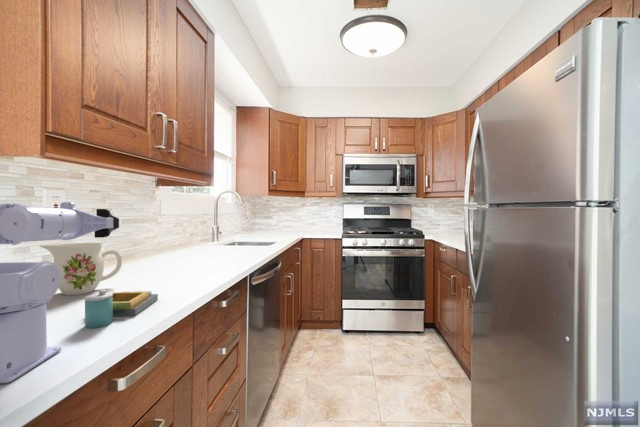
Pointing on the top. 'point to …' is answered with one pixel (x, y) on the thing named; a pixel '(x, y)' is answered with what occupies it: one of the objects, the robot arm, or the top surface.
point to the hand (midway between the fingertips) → (98, 223)
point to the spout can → (98, 310)
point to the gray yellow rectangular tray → (132, 302)
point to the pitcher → (81, 266)
